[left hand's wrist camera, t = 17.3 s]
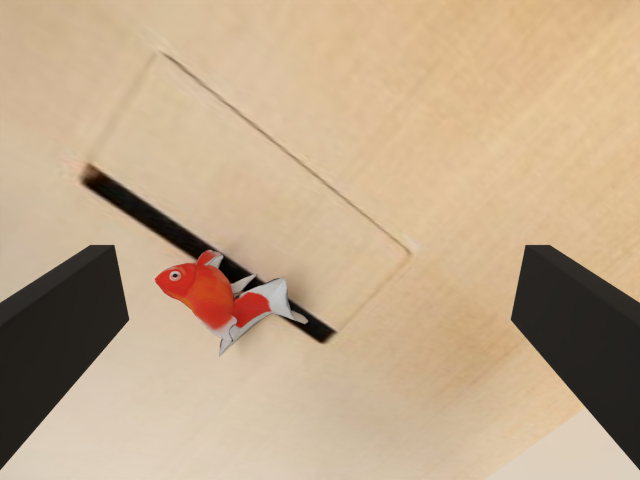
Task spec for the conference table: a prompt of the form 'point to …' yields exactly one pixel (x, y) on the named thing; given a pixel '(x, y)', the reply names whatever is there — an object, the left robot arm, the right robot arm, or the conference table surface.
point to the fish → (224, 297)
